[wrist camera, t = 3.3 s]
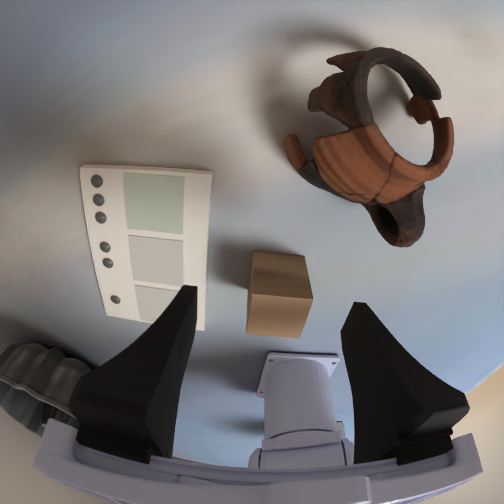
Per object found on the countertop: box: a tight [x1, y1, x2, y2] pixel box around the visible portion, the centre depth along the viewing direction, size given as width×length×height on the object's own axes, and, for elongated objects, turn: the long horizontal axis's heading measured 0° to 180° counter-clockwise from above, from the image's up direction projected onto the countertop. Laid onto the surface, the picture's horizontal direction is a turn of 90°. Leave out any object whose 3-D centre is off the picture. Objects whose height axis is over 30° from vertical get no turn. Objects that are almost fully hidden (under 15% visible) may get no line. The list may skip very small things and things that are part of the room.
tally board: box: [79, 164, 213, 331], centre depth 23 cm, size 15×10×1 cm, turn 173°
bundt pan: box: [0, 343, 92, 439], centre depth 33 cm, size 26×26×10 cm
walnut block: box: [246, 251, 313, 338], centre depth 22 cm, size 4×4×5 cm
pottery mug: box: [284, 47, 454, 247], centre depth 16 cm, size 12×10×8 cm
